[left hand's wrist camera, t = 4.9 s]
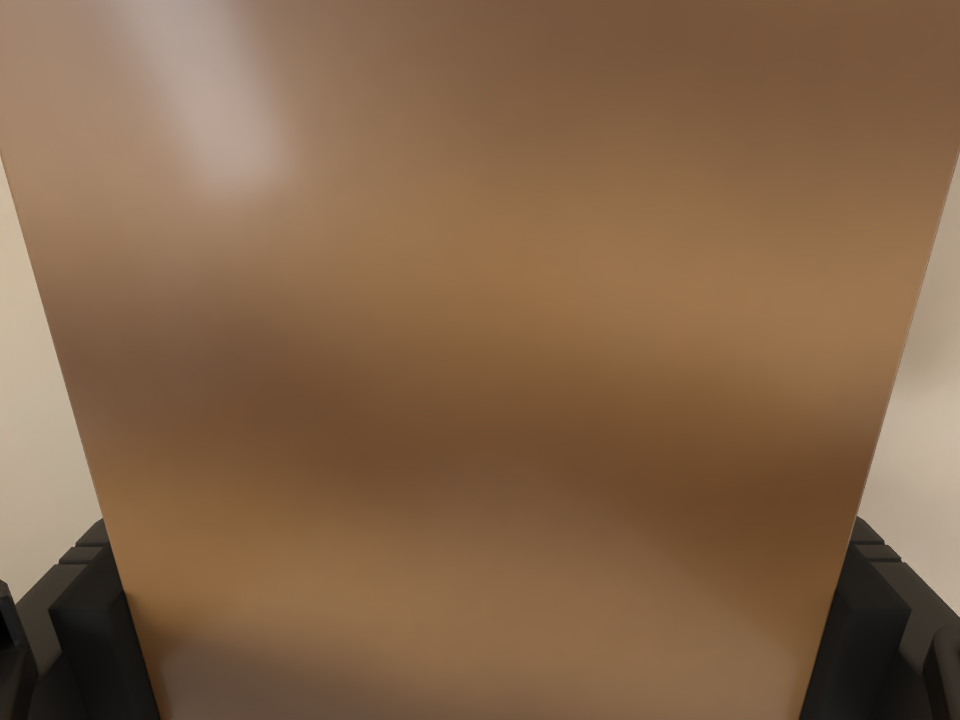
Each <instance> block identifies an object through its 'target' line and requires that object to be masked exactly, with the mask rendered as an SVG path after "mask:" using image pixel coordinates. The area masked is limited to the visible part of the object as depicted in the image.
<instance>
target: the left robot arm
mask: <svg viewBox="0 0 960 720" xmlns="http://www.w3.org/2000/svg"><path fill="white" fill-rule="evenodd" d="M0 720H160V717H159V713H158V710H157V706H156V703H155V699H154V696H153V692H152V689H151V685H150V682H149V678H148V674H147V671H146V667H145V664H144V660H143V657H142V653H141V650H140V646H139V643H138V639H137V636H136V632H135V629H134V625H133V622H132V618H131V614H130V611H129V607H128V604H127V600H126V597H125V593H124V590H123V586H122V583H121V579H120V576H119V572H118V569H117V565H116V562H115V558H114V554H113V551H112V547H111V544H110V540H109V537H108V533H107V530H106V526H105V523H104V519H103V518H102V519H101V520H99V521H97V522H96V523H95V524H94V525H93V526H92V527H91V528H90V529H89V530H88V531H87V532H86V533H85V534H84V535H83V536H82V537H81V538H80V539H79V540H78V541H77V542H76V546H75V547H71V548H70V549H69V550H68V551H67V552H66V553H65V554H64V555H63V557H62V558H61V559H60V560H59V564H58V565H54V566H53V567H52V568H51V569H50V570H49V571H48V572H47V573H46V574H45V575H44V576H43V577H42V578H41V579H40V580H39V581H38V582H37V583H36V584H35V585H34V586H33V587H32V588H31V589H30V590H29V591H28V592H27V593H26V594H25V595H24V596H23V598H22V599H21V600H20V601H19V602H18V603H17V604H16V605H15V604H14V601H13V599H12V596H11V593H10V591H9V588H8V585H7V584H6V583H5V582H3V581H2V580H0ZM799 720H960V617H959V616H958V615H957V614H956V613H955V612H954V611H953V610H952V609H951V608H950V607H949V606H948V605H947V604H946V603H945V602H944V601H943V600H942V599H941V598H940V597H939V596H938V595H937V594H936V593H935V592H934V591H933V590H932V589H931V588H930V587H929V586H928V585H927V584H926V583H925V582H924V581H923V580H922V579H921V578H920V577H919V576H918V575H917V574H916V573H915V572H914V571H913V570H912V569H911V568H910V566H909V565H908V564H907V563H906V562H902V561H901V557H900V556H899V555H898V554H897V553H896V552H895V551H894V550H893V549H892V548H891V547H890V546H889V545H885V543H884V540H883V539H882V538H881V537H880V536H879V535H878V534H877V533H876V532H875V531H874V530H873V529H872V528H871V527H870V526H869V525H868V524H867V523H866V522H865V521H864V520H863V519H861V518H859V517H858V516H856V520H855V524H854V527H853V531H852V534H851V538H850V541H849V545H848V548H847V552H846V555H845V559H844V562H843V566H842V569H841V573H840V577H839V580H838V584H837V587H836V591H835V594H834V598H833V601H832V605H831V608H830V612H829V615H828V619H827V623H826V626H825V630H824V633H823V637H822V640H821V644H820V647H819V651H818V654H817V658H816V661H815V665H814V669H813V672H812V676H811V679H810V683H809V686H808V690H807V693H806V697H805V700H804V704H803V707H802V711H801V715H800V718H799Z"/></svg>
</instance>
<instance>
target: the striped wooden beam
mask: <svg viewBox="0 0 960 720" xmlns="http://www.w3.org/2000/svg"><path fill="white" fill-rule="evenodd" d="M959 152H960V0H0V156H1V159H2V163H3V166H4V170H5V173H6V177H7V180H8V184H9V187H10V191H11V194H12V198H13V201H14V205H15V209H16V212H17V216H18V219H19V223H20V226H21V230H22V233H23V237H24V240H25V244H26V247H27V251H28V254H29V258H30V262H31V265H32V269H33V272H34V276H35V279H36V283H37V286H38V290H39V293H40V297H41V300H42V304H43V307H44V311H45V314H46V318H47V322H48V325H49V329H50V332H51V336H52V339H53V343H54V346H55V350H56V353H57V357H58V360H59V364H60V367H61V371H62V374H63V378H64V382H65V385H66V389H67V392H68V396H69V399H70V403H71V406H72V410H73V413H74V417H75V420H76V424H77V427H78V431H79V434H80V438H81V442H82V445H83V449H84V452H85V456H86V459H87V463H88V466H89V470H90V473H91V477H92V480H93V484H94V487H95V491H96V494H97V498H98V502H99V505H100V509H101V512H102V516H103V519H104V523H105V526H106V530H107V533H108V537H109V540H110V544H111V547H112V551H113V554H114V558H115V562H116V565H117V569H118V572H119V576H120V579H121V583H122V586H123V590H124V593H125V597H126V600H127V604H128V607H129V611H130V614H131V618H132V622H133V625H134V629H135V632H136V636H137V639H138V643H139V646H140V650H141V653H142V657H143V660H144V664H145V667H146V671H147V674H148V678H149V682H150V685H151V689H152V692H153V696H154V699H155V703H156V706H157V710H158V713H159V717H160V720H799V718H800V715H801V711H802V707H803V704H804V700H805V697H806V693H807V690H808V686H809V683H810V679H811V676H812V672H813V669H814V665H815V661H816V658H817V654H818V651H819V647H820V644H821V640H822V637H823V633H824V630H825V626H826V623H827V619H828V615H829V612H830V608H831V605H832V601H833V598H834V594H835V591H836V587H837V584H838V580H839V577H840V573H841V569H842V566H843V562H844V559H845V555H846V552H847V548H848V545H849V541H850V538H851V534H852V531H853V527H854V524H855V520H856V516H857V513H858V509H859V506H860V502H861V499H862V495H863V492H864V488H865V485H866V481H867V478H868V474H869V470H870V467H871V463H872V460H873V456H874V453H875V449H876V446H877V442H878V439H879V435H880V432H881V428H882V424H883V421H884V417H885V414H886V410H887V407H888V403H889V400H890V396H891V393H892V389H893V386H894V382H895V378H896V375H897V371H898V368H899V364H900V361H901V357H902V354H903V350H904V347H905V343H906V340H907V336H908V332H909V329H910V325H911V322H912V318H913V315H914V311H915V308H916V304H917V301H918V297H919V294H920V290H921V286H922V283H923V279H924V276H925V272H926V269H927V265H928V262H929V258H930V255H931V251H932V248H933V244H934V240H935V237H936V233H937V230H938V226H939V223H940V219H941V216H942V212H943V209H944V205H945V202H946V198H947V194H948V191H949V187H950V184H951V180H952V177H953V173H954V170H955V166H956V163H957V159H958V156H959Z"/></svg>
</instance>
